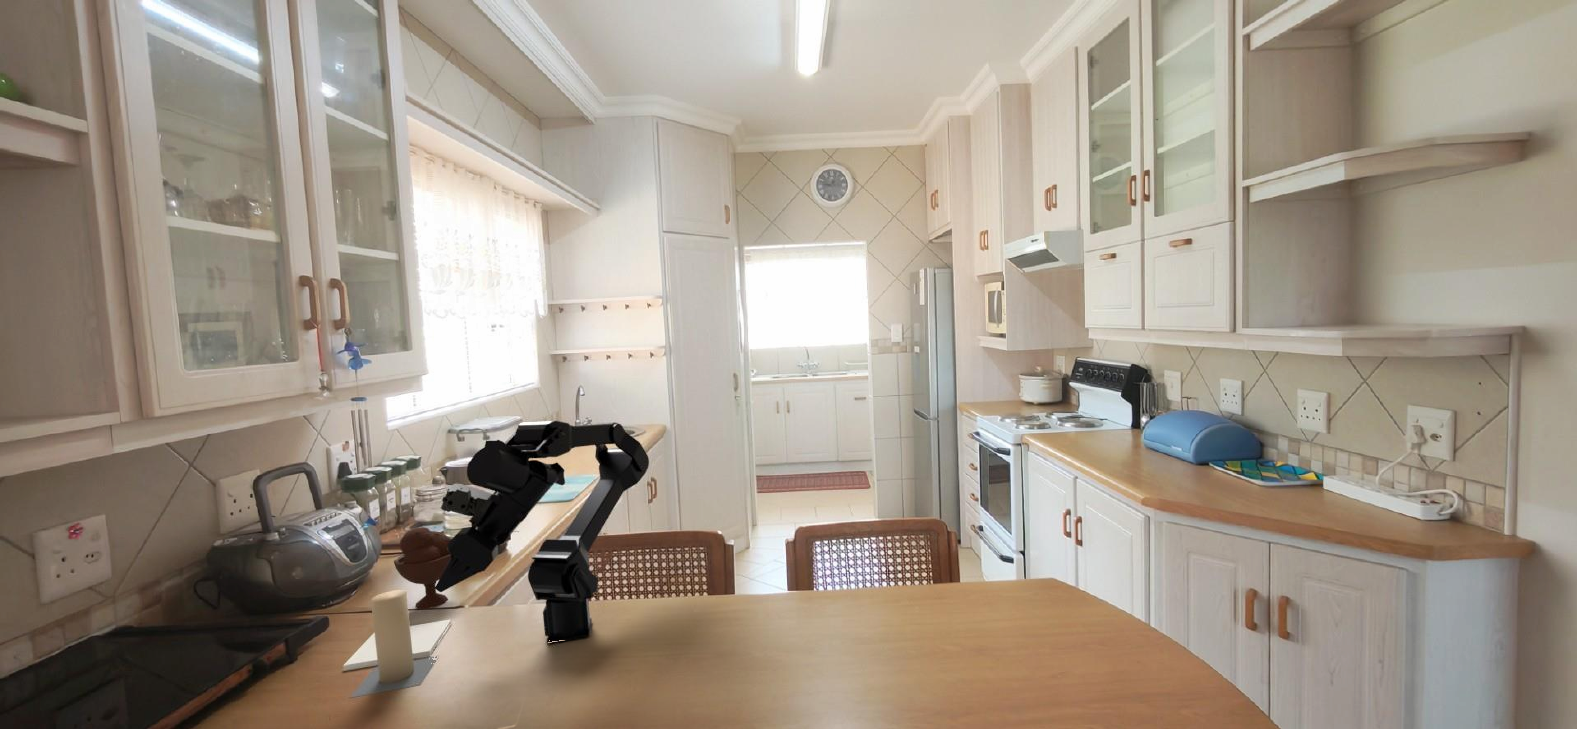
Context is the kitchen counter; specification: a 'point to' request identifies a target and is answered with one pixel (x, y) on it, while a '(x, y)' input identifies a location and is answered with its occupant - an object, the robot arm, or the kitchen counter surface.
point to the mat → (375, 686)
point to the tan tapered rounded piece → (392, 636)
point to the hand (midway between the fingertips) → (447, 578)
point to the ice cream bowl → (424, 562)
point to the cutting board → (421, 639)
